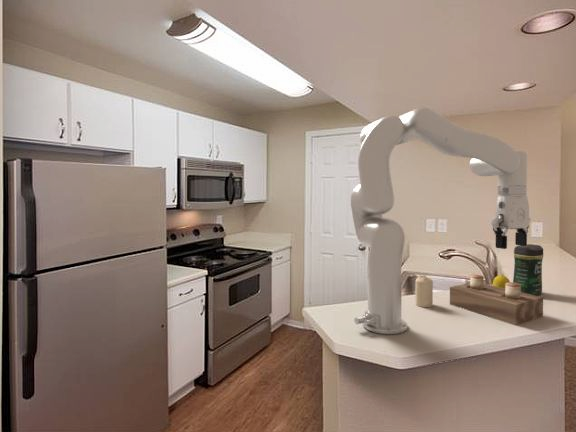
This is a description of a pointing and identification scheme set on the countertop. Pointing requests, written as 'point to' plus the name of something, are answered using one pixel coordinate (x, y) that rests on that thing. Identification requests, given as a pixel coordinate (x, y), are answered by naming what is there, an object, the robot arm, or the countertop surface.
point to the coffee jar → (528, 268)
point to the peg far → (476, 282)
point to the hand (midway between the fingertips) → (511, 246)
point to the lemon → (500, 281)
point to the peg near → (513, 290)
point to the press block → (497, 303)
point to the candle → (424, 292)
